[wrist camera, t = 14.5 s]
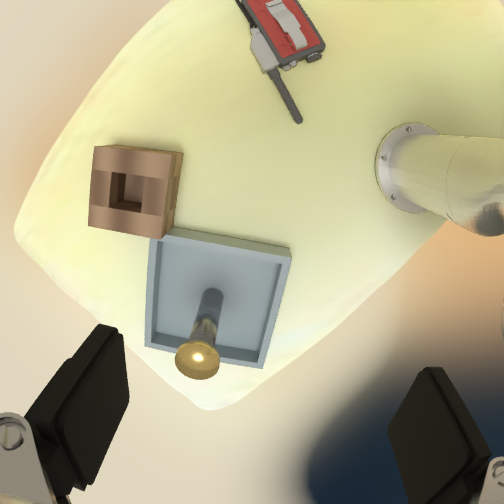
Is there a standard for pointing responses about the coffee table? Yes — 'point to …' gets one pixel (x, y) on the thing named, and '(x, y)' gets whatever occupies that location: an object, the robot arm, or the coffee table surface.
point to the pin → (202, 339)
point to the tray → (222, 278)
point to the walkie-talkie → (281, 40)
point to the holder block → (134, 190)
